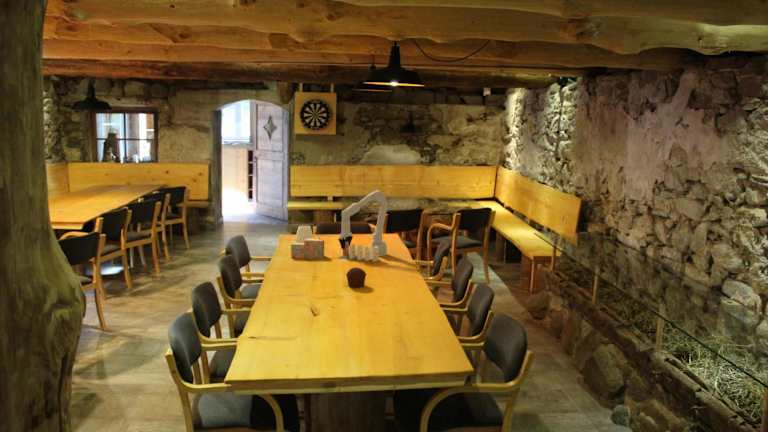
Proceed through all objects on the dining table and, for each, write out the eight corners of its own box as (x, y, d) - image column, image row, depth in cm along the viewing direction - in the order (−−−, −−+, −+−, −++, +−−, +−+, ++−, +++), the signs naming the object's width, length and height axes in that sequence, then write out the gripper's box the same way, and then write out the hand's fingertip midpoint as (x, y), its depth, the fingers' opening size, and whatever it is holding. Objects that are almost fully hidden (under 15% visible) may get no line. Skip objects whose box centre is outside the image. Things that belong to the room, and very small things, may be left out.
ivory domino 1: (355, 257, 403) (355, 244, 401) (352, 259, 398) (352, 245, 397) (352, 257, 403) (352, 244, 402) (349, 258, 399) (349, 245, 397)
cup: (317, 246, 440) (317, 227, 437) (300, 248, 432) (300, 229, 430) (308, 242, 451) (308, 224, 448) (292, 245, 443) (291, 226, 441)
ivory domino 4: (378, 260, 396) (378, 246, 395) (375, 261, 392) (375, 248, 390) (375, 259, 397) (375, 246, 396) (372, 261, 393) (372, 247, 391)
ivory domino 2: (363, 258, 401) (363, 245, 399) (359, 260, 396) (359, 246, 394) (360, 258, 401) (360, 244, 400) (357, 259, 397) (356, 246, 395)
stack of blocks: (290, 258, 404) (290, 239, 402) (293, 255, 410) (292, 238, 408) (322, 258, 402) (322, 240, 400) (324, 256, 408) (324, 238, 406)
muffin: (368, 288, 335) (368, 270, 333) (349, 289, 332) (348, 271, 330) (363, 282, 346) (363, 265, 344) (344, 283, 343) (344, 266, 341)
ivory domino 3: (370, 259, 398) (370, 245, 397) (367, 260, 394) (367, 247, 392) (367, 258, 399) (367, 245, 398) (364, 260, 395) (364, 247, 393)
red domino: (348, 255, 413) (348, 242, 411) (345, 256, 408) (345, 243, 407) (346, 254, 414) (346, 241, 412) (342, 256, 409) (342, 243, 408)
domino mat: (380, 260, 397) (380, 259, 397) (375, 263, 390) (375, 262, 390) (342, 256, 408) (342, 255, 408) (336, 259, 401) (336, 258, 401)
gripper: (345, 225, 416) (345, 245, 418) (335, 229, 403) (335, 249, 405) (354, 226, 413) (354, 246, 415) (345, 230, 400) (345, 250, 402)
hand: (345, 247), depth 410 cm, fingers open, 7 cm apart
